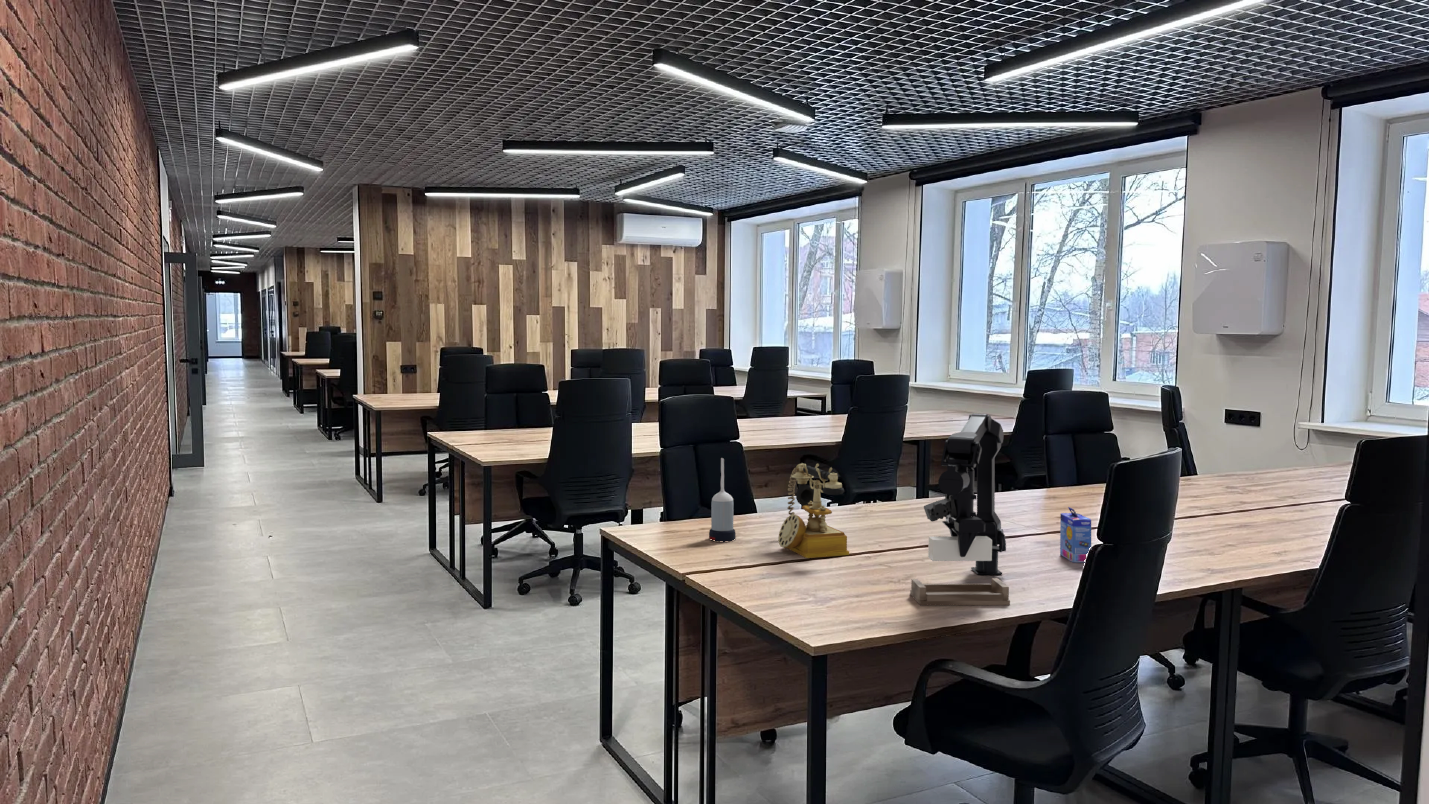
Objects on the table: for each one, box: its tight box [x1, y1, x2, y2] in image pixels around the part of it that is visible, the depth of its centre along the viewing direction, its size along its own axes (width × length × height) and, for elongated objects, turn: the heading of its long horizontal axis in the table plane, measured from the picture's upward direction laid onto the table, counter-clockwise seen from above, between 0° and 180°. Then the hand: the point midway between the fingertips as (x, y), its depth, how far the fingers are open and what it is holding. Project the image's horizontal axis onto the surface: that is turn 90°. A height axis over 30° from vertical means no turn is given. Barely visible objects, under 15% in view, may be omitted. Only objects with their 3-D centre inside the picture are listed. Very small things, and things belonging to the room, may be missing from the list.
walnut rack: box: [909, 577, 1011, 606], centre depth 230 cm, size 10×21×4 cm, turn 92°
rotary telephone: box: [777, 462, 850, 559], centre depth 284 cm, size 35×18×25 cm, turn 19°
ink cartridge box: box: [1059, 506, 1092, 564], centre depth 272 cm, size 10×6×14 cm, turn 2°
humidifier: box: [708, 457, 737, 543], centre depth 296 cm, size 8×8×25 cm
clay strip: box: [927, 535, 992, 562], centre depth 229 cm, size 4×14×5 cm, turn 92°
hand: (959, 554), depth 229 cm, fingers closed on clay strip, 4 cm apart
